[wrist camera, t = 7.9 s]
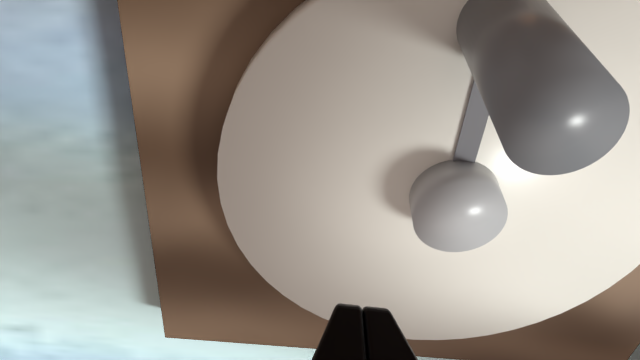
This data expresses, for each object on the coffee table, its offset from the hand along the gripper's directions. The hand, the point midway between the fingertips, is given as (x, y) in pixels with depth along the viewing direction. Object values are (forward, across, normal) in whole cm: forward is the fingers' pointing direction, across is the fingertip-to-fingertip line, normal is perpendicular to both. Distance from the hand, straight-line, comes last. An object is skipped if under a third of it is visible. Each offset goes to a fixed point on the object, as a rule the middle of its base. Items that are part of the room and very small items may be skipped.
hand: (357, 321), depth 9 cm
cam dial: (+10, -4, +3) cm, 11 cm away
